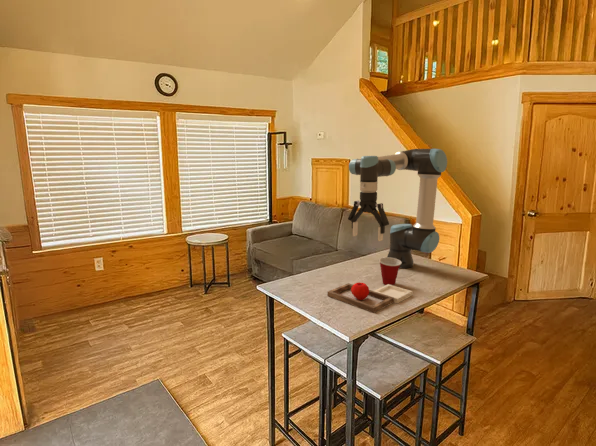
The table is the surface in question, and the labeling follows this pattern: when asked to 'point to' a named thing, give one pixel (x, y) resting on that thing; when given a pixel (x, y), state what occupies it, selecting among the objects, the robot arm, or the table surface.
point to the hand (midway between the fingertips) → (367, 238)
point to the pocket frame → (357, 303)
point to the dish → (395, 292)
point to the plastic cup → (389, 269)
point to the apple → (360, 291)
